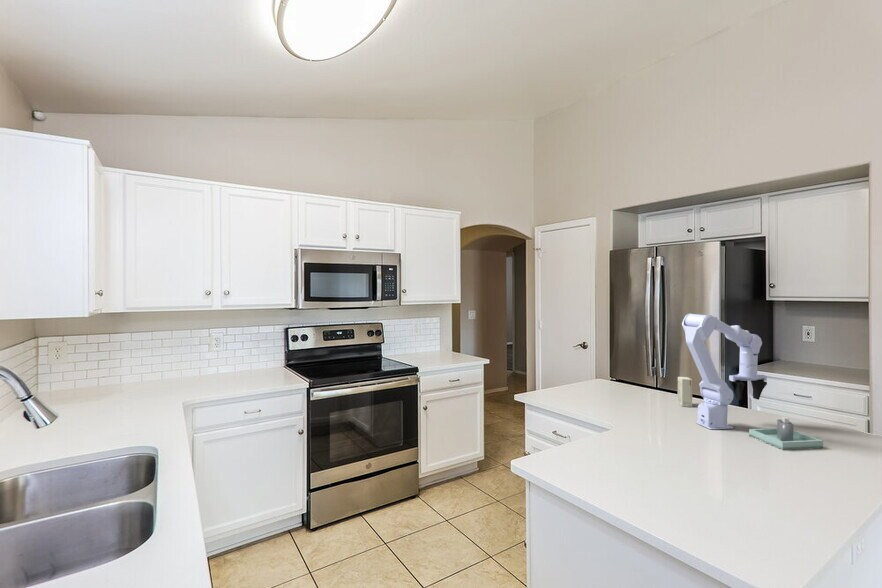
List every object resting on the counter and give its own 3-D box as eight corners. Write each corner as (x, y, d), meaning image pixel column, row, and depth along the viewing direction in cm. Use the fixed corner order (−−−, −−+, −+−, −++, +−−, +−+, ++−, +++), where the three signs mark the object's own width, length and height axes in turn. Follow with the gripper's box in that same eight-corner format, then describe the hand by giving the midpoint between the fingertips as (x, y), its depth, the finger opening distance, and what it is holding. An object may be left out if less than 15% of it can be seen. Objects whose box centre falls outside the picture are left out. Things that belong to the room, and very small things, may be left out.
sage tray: (782, 450, 142) (782, 442, 142) (749, 436, 155) (749, 429, 155) (822, 448, 144) (822, 440, 144) (786, 434, 157) (786, 427, 157)
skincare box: (692, 407, 191) (693, 379, 191) (681, 406, 192) (682, 379, 192) (687, 403, 197) (687, 376, 197) (676, 402, 198) (677, 376, 198)
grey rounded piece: (782, 442, 147) (782, 419, 147) (775, 435, 153) (775, 414, 153) (794, 443, 146) (795, 421, 146) (787, 437, 152) (787, 415, 152)
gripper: (756, 362, 174) (755, 396, 174) (723, 362, 172) (722, 396, 173) (771, 365, 167) (770, 400, 167) (737, 366, 165) (736, 401, 166)
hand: (747, 399), depth 170 cm, fingers open, 7 cm apart
